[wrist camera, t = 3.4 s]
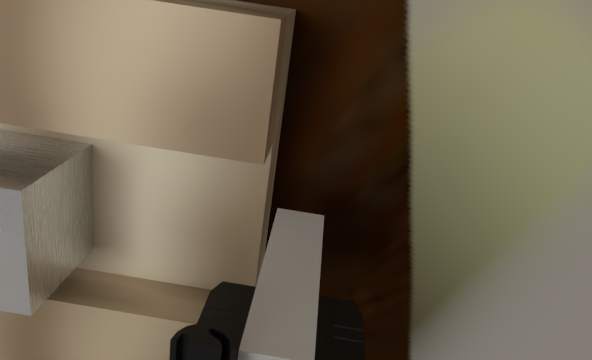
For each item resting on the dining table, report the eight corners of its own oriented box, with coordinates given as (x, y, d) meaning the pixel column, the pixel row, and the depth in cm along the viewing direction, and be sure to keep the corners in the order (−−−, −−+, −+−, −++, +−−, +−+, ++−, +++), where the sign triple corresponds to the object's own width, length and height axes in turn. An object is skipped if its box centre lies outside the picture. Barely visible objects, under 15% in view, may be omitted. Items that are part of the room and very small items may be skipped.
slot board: (-93, 279, 23) (-191, 347, 19) (-159, -59, 17) (-317, -70, 13) (253, 337, 22) (233, 420, 18) (296, 9, 17) (281, 19, 13)
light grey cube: (-13, 229, 18) (-102, 293, 15) (-25, 125, 17) (-128, 167, 13) (94, 247, 18) (31, 316, 14) (92, 144, 17) (20, 191, 13)
